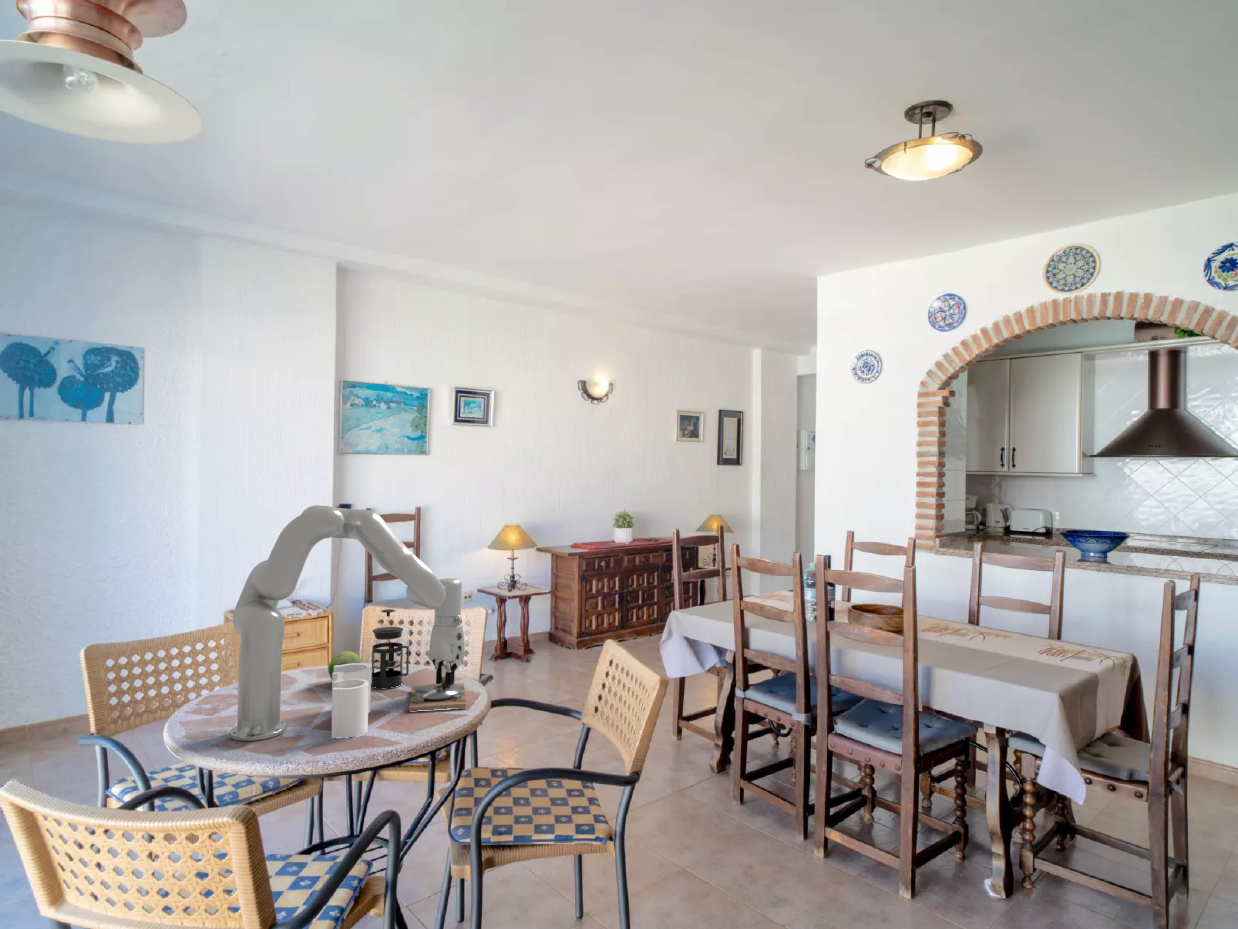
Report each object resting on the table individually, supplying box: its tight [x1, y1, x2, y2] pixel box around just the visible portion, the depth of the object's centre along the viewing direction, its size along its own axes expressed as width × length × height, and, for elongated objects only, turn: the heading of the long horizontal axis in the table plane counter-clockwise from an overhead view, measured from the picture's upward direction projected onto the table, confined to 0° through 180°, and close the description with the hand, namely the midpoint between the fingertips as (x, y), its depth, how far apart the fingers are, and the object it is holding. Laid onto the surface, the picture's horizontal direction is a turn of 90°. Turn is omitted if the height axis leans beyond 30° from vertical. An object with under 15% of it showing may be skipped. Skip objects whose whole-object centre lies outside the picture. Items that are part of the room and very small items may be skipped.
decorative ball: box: [327, 651, 363, 680], centre depth 216 cm, size 10×10×10 cm
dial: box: [415, 663, 461, 701], centre depth 202 cm, size 14×13×7 cm
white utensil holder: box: [330, 662, 372, 739], centre depth 184 cm, size 25×10×12 cm, turn 19°
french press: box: [371, 608, 410, 689], centre depth 217 cm, size 12×9×23 cm
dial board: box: [408, 682, 467, 712], centre depth 202 cm, size 20×15×2 cm
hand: (445, 683), depth 207 cm, fingers open, 3 cm apart
